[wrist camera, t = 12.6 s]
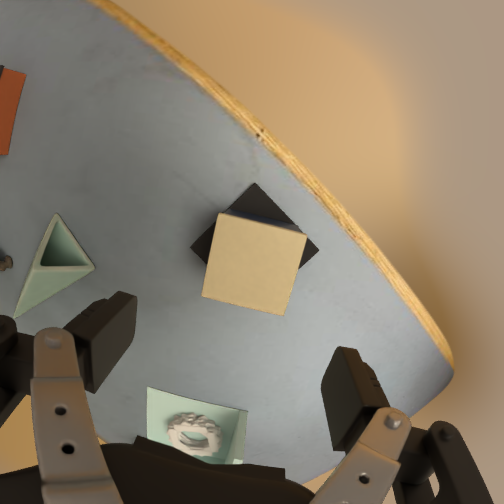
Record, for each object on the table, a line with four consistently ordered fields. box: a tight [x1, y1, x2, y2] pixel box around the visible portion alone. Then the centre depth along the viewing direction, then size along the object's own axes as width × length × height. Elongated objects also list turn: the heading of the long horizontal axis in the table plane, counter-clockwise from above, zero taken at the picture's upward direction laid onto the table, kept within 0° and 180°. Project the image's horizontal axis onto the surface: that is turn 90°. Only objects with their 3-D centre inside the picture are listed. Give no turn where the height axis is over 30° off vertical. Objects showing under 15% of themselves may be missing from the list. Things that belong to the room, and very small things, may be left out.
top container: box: [201, 209, 307, 316], centre depth 24 cm, size 6×6×5 cm
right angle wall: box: [147, 387, 248, 464], centre depth 29 cm, size 12×12×8 cm
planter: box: [13, 213, 95, 319], centre depth 29 cm, size 8×6×18 cm
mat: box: [190, 183, 319, 269], centre depth 26 cm, size 8×8×1 cm
